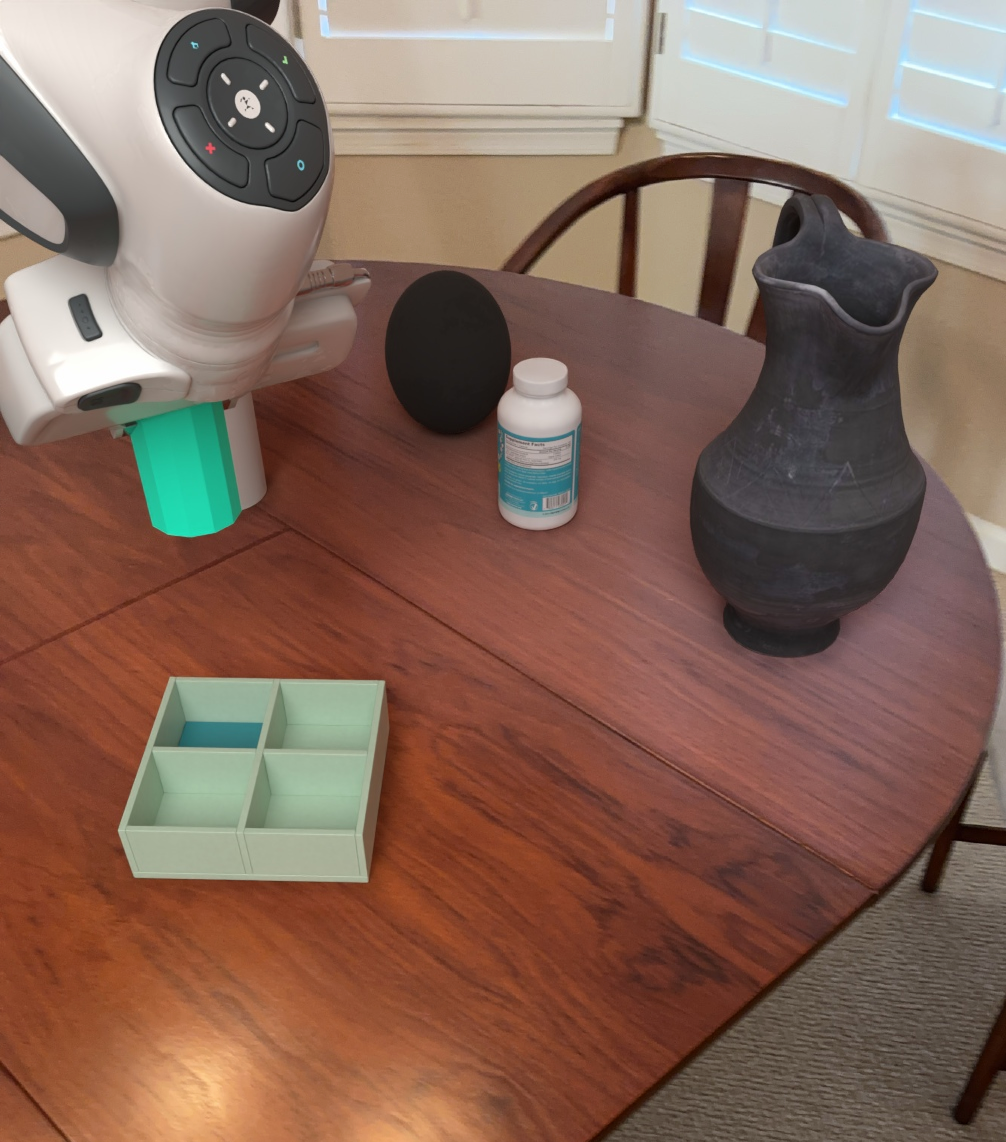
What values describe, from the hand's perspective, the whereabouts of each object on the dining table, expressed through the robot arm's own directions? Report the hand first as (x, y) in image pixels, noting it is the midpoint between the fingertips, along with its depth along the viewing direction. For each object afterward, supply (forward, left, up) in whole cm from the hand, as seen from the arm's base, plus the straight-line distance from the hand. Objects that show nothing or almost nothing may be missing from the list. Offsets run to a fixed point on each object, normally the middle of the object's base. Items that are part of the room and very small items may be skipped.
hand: (168, 411), depth 73 cm
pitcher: (+43, +15, -24) cm, 52 cm away
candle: (0, -1, -7) cm, 7 cm away
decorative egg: (+14, +46, -24) cm, 54 cm away
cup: (-7, +33, -24) cm, 42 cm away
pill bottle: (+23, +30, -24) cm, 45 cm away
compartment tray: (+4, -9, -24) cm, 26 cm away
